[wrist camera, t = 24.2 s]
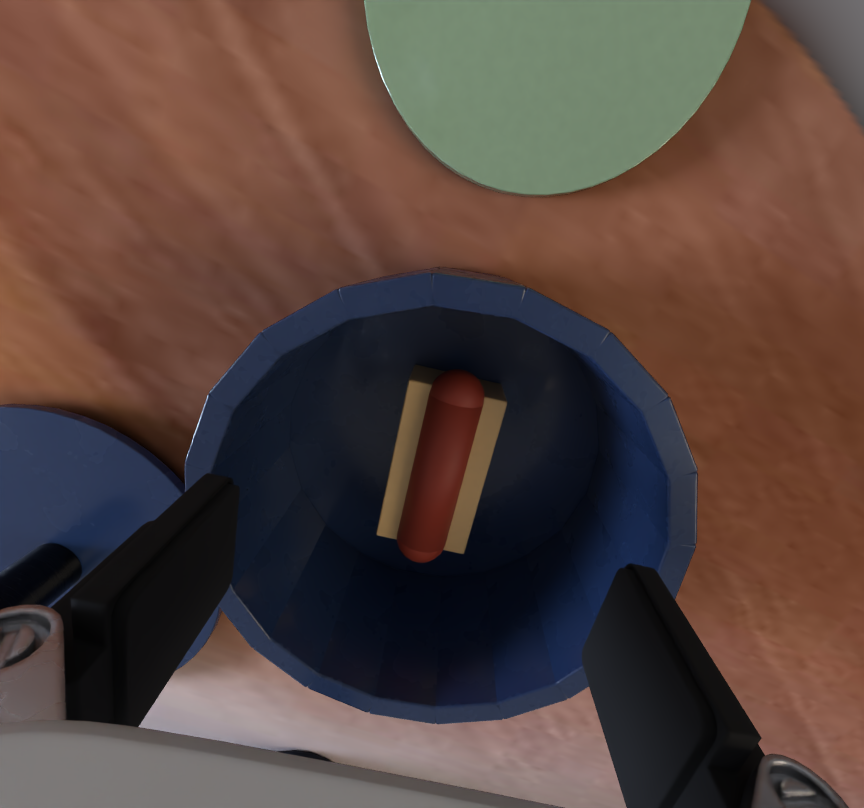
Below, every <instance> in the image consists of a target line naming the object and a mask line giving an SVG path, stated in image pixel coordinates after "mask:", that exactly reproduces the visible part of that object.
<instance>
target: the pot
mask: <svg viewBox="0 0 864 808" xmlns="http://www.w3.org/2000/svg"><path fill="white" fill-rule="evenodd" d="M415 365H419V366H424V367H428V368H433V369H437V370H441V371H448V370H452V369H462V370H465V371H468V372H470V373H472V374H473V375H474V376H476V377H477V379H481V380H485V381H490V382H494V383H499V384H501V385H502V388H503V391H504V394H505V397H506V400H507V407H506V410H505V414H504V417H503V420H502V424H501V427H500V431H499V434H498V438H497V441H496V445H495V448H494V451H493V455H492V458H491V462H490V465H489V469H488V472H487V476H486V479H485V482H484V486H483V489H482V493H481V496H480V500H479V503H478V507H477V510H476V513H475V517H474V520H473V524H472V527H471V531H470V534H469V538H468V541H467V545H466V548H465V551H464V553H463V554H460V553H455V552H451V551H446V550H443V551H442V552H441V554H440V555H439V556H438V557H436V558H435V559H433V560H431V561H429V562H424V563H419V562H414V561H412V560H410V559H408V558H407V557H405V556H404V555H403V553H402V552H401V551H400V549H399V546H398V543H397V540H396V539H392V538H387V537H383V536H378V535H377V534H376V532H377V527H378V522H379V518H380V513H381V508H382V503H383V499H384V494H385V489H386V484H387V480H388V475H389V470H390V465H391V461H392V456H393V451H394V446H395V442H396V437H397V432H398V427H399V423H400V418H401V413H402V408H403V404H404V399H405V394H406V389H407V385H408V380H409V378H410V375H411V373H412V370H413V368H414V366H415ZM206 473H211V474H216V475H220V476H225V477H230V478H232V479H233V482H234V485H237V486H239V488H240V495H239V507H238V519H237V531H236V543H235V555H234V567H233V577H232V581H231V584H230V586H229V588H228V590H227V592H226V594H225V595H224V597H223V598H222V600H221V601H220V603H219V604H218V606H219V607H220V608H221V610H222V611H223V612H224V613H225V615H226V616H227V617H228V618H229V620H230V621H231V622H232V623H233V625H234V626H235V627H236V628H237V630H238V631H239V632H240V634H241V635H242V636H243V637H244V639H245V640H246V641H247V642H248V644H249V645H250V646H251V647H252V648H253V647H254V650H256V651H257V652H258V653H260V654H261V655H262V656H264V657H265V658H267V659H268V660H269V661H271V662H272V663H273V664H275V665H276V666H277V667H279V668H280V669H282V670H283V671H284V672H286V673H287V674H288V675H290V676H291V677H292V678H294V679H295V680H296V681H298V682H299V683H301V684H302V685H303V686H305V687H307V686H308V688H309V689H311V690H314V691H316V692H318V693H321V694H323V695H326V696H328V697H331V698H333V699H335V700H338V701H340V702H343V703H345V704H348V705H350V706H352V707H355V708H357V709H360V710H362V711H365V712H370V713H371V714H375V715H382V716H388V717H394V718H400V719H406V720H413V721H419V722H425V723H431V724H435V723H436V724H448V723H463V722H477V721H492V720H502V719H507V718H511V717H514V716H517V715H520V714H523V713H526V712H529V711H533V710H536V709H539V708H542V707H545V706H548V705H551V704H555V703H558V702H561V701H564V700H567V699H568V698H571V697H573V696H574V695H576V694H578V693H579V692H581V691H582V690H584V689H585V688H587V687H589V684H588V681H587V677H586V674H585V671H584V668H583V664H582V649H583V646H584V644H585V642H586V640H587V637H588V635H589V633H590V631H591V628H592V626H593V624H594V622H595V619H596V617H597V615H598V613H599V610H600V608H601V606H602V604H603V601H604V599H605V597H606V595H607V592H608V590H609V588H610V586H611V583H612V581H613V579H614V577H615V574H616V572H617V571H618V569H619V568H624V567H625V566H626V565H627V564H629V563H632V564H637V565H641V566H646V567H651V568H653V569H655V570H656V571H657V572H658V574H659V576H660V577H661V579H662V580H663V582H664V584H665V585H666V587H667V588H668V590H669V592H670V593H671V595H672V596H673V598H674V599H675V598H676V596H677V593H678V591H679V588H680V586H681V583H682V581H683V578H684V576H685V573H686V571H687V568H688V566H689V563H690V561H691V558H692V556H693V553H694V551H695V548H696V545H695V544H696V543H697V485H698V473H697V466H696V464H695V461H694V458H693V456H692V453H691V451H690V448H689V445H688V443H687V440H686V437H685V435H684V432H683V430H682V427H681V424H680V422H679V419H678V417H677V414H676V411H675V409H674V406H673V404H672V401H671V398H670V397H669V396H668V394H667V393H666V391H665V390H664V389H663V388H662V387H661V386H660V385H659V384H658V383H657V381H656V380H655V379H654V378H653V377H652V376H651V375H650V374H649V373H648V372H647V370H646V369H645V368H644V367H643V366H642V365H641V364H640V363H639V362H638V360H637V359H636V358H635V357H634V356H633V355H632V354H631V353H630V352H629V351H628V349H627V348H626V347H625V346H624V345H623V344H622V343H621V342H620V341H619V339H618V338H617V337H616V336H615V335H614V334H613V333H612V332H610V331H609V330H608V329H606V328H604V327H603V326H601V325H599V324H597V323H595V322H593V321H591V320H589V319H587V318H586V317H584V316H582V315H580V314H578V313H576V312H574V311H572V310H570V309H569V308H567V307H565V306H563V305H561V304H559V303H557V302H555V301H553V300H552V299H550V298H548V297H546V296H544V295H542V294H540V293H538V292H536V291H535V290H533V289H531V288H529V287H526V286H524V285H521V284H519V283H517V282H514V281H512V280H510V279H507V278H505V277H501V276H497V275H491V274H485V273H478V272H472V271H466V270H459V269H453V268H446V267H442V268H441V267H436V268H430V269H424V270H418V271H412V272H407V273H401V274H396V275H390V276H384V277H380V278H376V279H372V280H368V281H364V282H360V283H356V284H352V285H348V286H345V287H341V288H339V289H335V290H334V291H332V292H330V293H328V294H326V295H325V296H323V297H321V298H319V299H318V300H316V301H314V302H312V303H310V304H309V305H307V306H305V307H303V308H301V309H300V310H298V311H296V312H294V313H293V314H291V315H289V316H287V317H285V318H284V319H282V320H280V321H278V322H277V323H275V324H273V325H271V326H269V327H268V328H266V329H264V330H263V331H262V332H260V333H259V334H258V335H257V336H256V337H255V339H254V340H253V341H252V342H251V343H250V344H249V346H248V347H247V348H246V349H245V350H244V352H243V353H242V354H241V355H240V356H239V357H238V359H237V360H236V361H235V362H234V363H233V365H232V366H231V367H230V368H229V369H228V370H227V372H226V373H225V374H224V375H223V376H222V378H221V379H220V380H219V381H218V382H217V383H216V385H215V386H214V387H213V388H212V389H211V391H210V392H209V394H208V396H207V399H206V402H205V405H204V407H203V410H202V413H201V416H200V419H199V422H198V425H197V428H196V431H195V434H194V436H193V439H192V442H191V445H190V448H189V451H188V454H187V457H186V460H185V492H186V491H187V490H188V489H189V488H190V487H191V486H192V485H194V484H195V483H196V482H197V481H198V480H199V479H200V478H201V477H202V476H203V475H205V474H206Z"/></svg>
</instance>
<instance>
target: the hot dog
mask: <svg viewBox="0 0 864 808" xmlns="http://www.w3.org/2000/svg"><path fill="white" fill-rule="evenodd" d="M506 407H507V400H506V397H505V394H504V391H503V388H502V385H501V384H499V383H494V382H490V381H485V380H481V379H477V377H476V376H474V375H473V374H472V373H470V372H468V371H465V370H462V369H452V370H448V371H441V370H437V369H433V368H428V367H424V366H419V365H415V366H414V368H413V370H412V373H411V375H410V378H409V380H408V385H407V389H406V394H405V399H404V404H403V408H402V413H401V418H400V423H399V427H398V432H397V437H396V442H395V446H394V451H393V456H392V461H391V465H390V470H389V475H388V480H387V484H386V489H385V494H384V499H383V503H382V508H381V513H380V518H379V522H378V527H377V532H376V534H377V535H378V536H383V537H387V538H392V539H396V540H397V543H398V546H399V549H400V551H401V552H402V553H403V555H404V556H405V557H407V558H408V559H410V560H412V561H414V562H419V563H424V562H429V561H431V560H433V559H435V558H436V557H438V556H439V555H440V554H441V552H442V551H443V550H446V551H451V552H455V553H460V554H463V553H464V551H465V548H466V545H467V541H468V538H469V534H470V531H471V527H472V524H473V520H474V517H475V513H476V510H477V507H478V503H479V500H480V496H481V493H482V489H483V486H484V482H485V479H486V476H487V472H488V469H489V465H490V462H491V458H492V455H493V451H494V448H495V445H496V441H497V438H498V434H499V431H500V427H501V424H502V420H503V417H504V414H505V410H506Z"/></svg>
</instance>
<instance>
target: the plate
mask: <svg viewBox="0 0 864 808" xmlns="http://www.w3.org/2000/svg"><path fill="white" fill-rule="evenodd" d="M750 2H751V0H364V3H365V12H366V20H367V28H368V32H369V36H370V41H371V45H372V49H373V54H374V57H375V60H376V63H377V65H378V68H379V71H380V74H381V77H382V80H383V82H384V85H385V87H386V89H387V91H388V93H389V95H390V97H391V99H392V101H393V103H394V105H395V107H396V110H397V111H398V113H399V114H400V116H401V117H402V119H403V120H404V122H405V124H406V125H407V127H408V128H409V130H410V131H411V132H412V134H413V135H414V136H415V137H416V138H417V139H418V141H419V142H420V143H421V144H422V145H423V147H424V148H425V149H426V150H427V151H428V152H429V153H431V154H432V155H433V156H434V157H435V158H436V159H437V160H438V161H439V162H440V163H442V164H443V165H444V166H446V167H447V168H449V169H450V170H452V171H453V172H454V173H456V174H457V175H459V176H460V177H462V178H464V179H466V180H468V181H470V182H472V183H474V184H476V185H478V186H480V187H484V188H487V189H490V190H493V191H496V192H499V193H503V194H509V195H515V196H521V197H551V196H560V195H567V194H571V193H575V192H579V191H583V190H586V189H589V188H592V187H594V186H597V185H599V184H602V183H604V182H607V181H609V180H611V179H613V178H615V177H617V176H619V175H621V174H622V173H624V172H626V171H628V170H630V169H631V168H633V167H635V166H637V165H638V164H640V163H641V162H642V161H644V160H645V159H647V158H648V157H649V156H651V155H652V154H653V153H655V152H656V151H658V150H659V149H660V148H661V147H662V146H663V145H664V144H665V143H667V142H668V141H669V140H670V139H671V138H672V137H673V136H674V135H675V134H676V133H677V132H679V130H680V129H681V128H682V127H683V126H684V125H685V124H686V122H687V121H688V120H689V119H690V118H691V117H692V116H693V114H694V113H695V112H696V111H697V110H698V108H699V107H700V106H701V104H702V103H703V101H704V100H705V98H706V97H707V96H708V94H709V93H710V91H711V90H712V88H713V87H714V86H715V84H716V82H717V80H718V78H719V77H720V75H721V73H722V71H723V69H724V68H725V66H726V64H727V62H728V61H729V59H730V56H731V54H732V52H733V49H734V47H735V45H736V42H737V40H738V38H739V35H740V33H741V31H742V28H743V25H744V21H745V18H746V15H747V12H748V9H749V6H750Z"/></svg>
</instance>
